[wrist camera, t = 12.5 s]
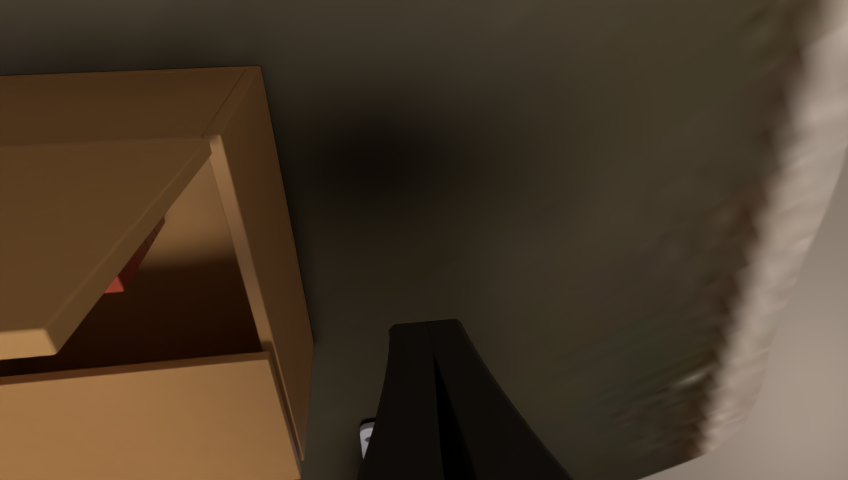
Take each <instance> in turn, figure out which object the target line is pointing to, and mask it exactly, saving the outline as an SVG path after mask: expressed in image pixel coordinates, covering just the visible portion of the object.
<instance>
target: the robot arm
mask: <svg viewBox="0 0 848 480" xmlns="http://www.w3.org/2000/svg"><path fill="white" fill-rule="evenodd" d="M389 336H390V342H389V355H388V363H387V369H386V374H385V380H384V385H383V390H382V394H381V398H380V402H379V406H378V411H377V415H376V419H375V422H371V423H365V424H363V425H362V426H361V427H360V439H361V446H362V454H363V462H362V466H361V469H360V472H359V475H358V478H357V480H573V478H572V477H571V476H570V475H569V474H568V473H567V472H566V470H565V469H564V468H563V467H562V466H561V465H560V463H559V462H558V461H557V460H556V459H555V458H554V456H553V455H552V454H551V453H550V452H549V450H548V449H547V448H546V447H545V445H544V444H543V443H542V442H541V440H540V439H539V438H538V437H537V435H536V434H535V433H534V432H533V430H532V429H531V428H530V427H529V425H528V424H527V423H526V421H525V420H524V419H523V418H522V416H521V415H520V414H519V412H518V411H517V409H516V408H515V407H514V405H513V404H512V403H511V401H510V400H509V398H508V397H507V396H506V394H505V393H504V391H503V390H502V389H501V387H500V386H499V384H498V383H497V381H496V380H495V379H494V377H493V376H492V374H491V373H490V371H489V369H488V368H487V366H486V365H485V363H484V362H483V360H482V359H481V357H480V355H479V354H478V352H477V350H476V349H475V347H474V345H473V344H472V342H471V340H470V339H469V337H468V335H467V333H466V331H465V329H464V327H463V325H462V323H461V322H460V321H458V320H457V319H448V320H438V321H427V322H416V323H405V324H395V325H394V326H392V327H391V328H390V329H389Z"/></svg>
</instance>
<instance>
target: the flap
mask: <svg viewBox="0 0 848 480" xmlns="http://www.w3.org/2000/svg"><path fill="white" fill-rule="evenodd" d="M211 154H212V151H211V147H210V143H209V140H208V139H194V140H176V141H157V142H138V143H120V144H101V145H82V146H63V147H45V148H26V149H7V150H0V360H5V359H16V358H26V357H37V356H48V355H54V354H56V353H58V351H59V350H60V349H61V348H62V346H63V345H64V344H65V342H66V341H67V340H68V339H69V337H70V336H71V335H72V333H73V332H74V331H75V330H76V328H77V327H78V326H79V324H80V323H81V322H82V321H83V319H84V318H85V317H86V315H87V314H88V313H89V312H90V310H91V309H92V308H93V306H94V305H95V304H96V303H97V301H98V300H99V299H100V297H101V296H102V295H103V293H104V292H105V291H106V290H107V288H108V287H109V286H110V284H111V283H112V282H113V281H114V279H115V278H116V277H117V275H118V274H119V273H120V272H121V270H122V269H123V268H124V266H125V265H126V264H127V263H128V261H129V260H130V259H131V257H132V256H133V255H134V254H135V252H136V251H137V250H138V248H139V247H140V246H141V245H142V243H143V242H144V241H145V239H146V238H147V237H148V236H149V234H150V233H151V232H152V230H153V229H154V228H155V227H156V225H157V224H158V223H159V221H160V220H161V219H162V217H163V216H164V215H165V214H166V212H167V211H168V210H169V208H170V207H171V206H172V205H173V203H174V202H175V201H176V199H177V198H178V197H179V196H180V194H181V193H182V192H183V190H184V189H185V188H186V187H187V185H188V184H189V183H190V181H191V180H192V179H193V178H194V176H195V175H196V174H197V172H198V171H199V170H200V169H201V167H202V166H203V165H204V163H205V162H206V161H207V160H208V158H209V157H210V156H211Z"/></svg>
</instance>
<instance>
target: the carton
mask: <svg viewBox="0 0 848 480" xmlns="http://www.w3.org/2000/svg"><path fill="white" fill-rule="evenodd" d="M194 139H208V140H209V143H210V147H211V151H212V154H211V156H210V157H209V158H208V160H207V161H206V162H205V163H204V165H203V166H202V167H201V169H200V170H199V171H198V172H197V174H196V175H195V176H194V178H193V179H192V180H191V181H190V183H189V184H188V185H187V187H186V188H185V189H184V190H183V192H182V193H181V194H180V196H179V197H178V198H177V199H176V201H175V202H174V203H173V205H172V206H171V207H170V208H169V210H168V211H167V212H166V214H165V215H164V216H163V218H164V221H165V224H164V225H163V227H162V229H161V230H160V232H159V234H158V236H157V237H156V239H155V241H154V242H153V244H152V246H151V247H150V249H149V251H148V252H147V254H146V256H145V257H144V259H143V261H142V262H141V264H140V266H139V268H138V269H137V271H136V273H135V274H134V276H133V278H132V279H131V281H130V283H129V284H128V286H127V288H126V289H125V291H123V292H116V293H104V294H103V295H102V296H101V297H100V299H99V300H98V301H97V303H96V304H95V305H94V306H93V308H92V309H91V310H90V312H89V313H88V314H87V315H86V317H85V318H84V319H83V321H82V322H81V323H80V324H79V326H78V327H77V328H76V330H75V331H74V332H73V333H72V335H71V336H70V337H69V339H68V340H67V341H66V342H65V344H64V345H63V346H62V348H61V349H60V350H59V351H58V353H56V354H54V355H48V356H37V357H26V358H16V359H5V360H0V480H294V479H300V478H301V467H300V463H299V461H302V460H304V456H305V444H306V432H307V420H308V409H309V397H310V385H311V373H312V361H313V349H314V342H313V337H312V332H311V326H310V321H309V316H308V311H307V306H306V300H305V295H304V290H303V285H302V280H301V274H300V269H299V264H298V259H297V253H296V248H295V243H294V238H293V233H292V227H291V222H290V217H289V212H288V207H287V201H286V196H285V191H284V186H283V181H282V175H281V170H280V165H279V160H278V155H277V149H276V144H275V139H274V134H273V129H272V123H271V118H270V113H269V108H268V103H267V97H266V92H265V87H264V82H263V77H262V71H261V67H260V66H239V67H214V68H189V69H163V70H138V71H113V72H87V73H62V74H37V75H12V76H0V150H7V149H26V148H45V147H63V146H82V145H101V144H120V143H138V142H157V141H176V140H194Z"/></svg>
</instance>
